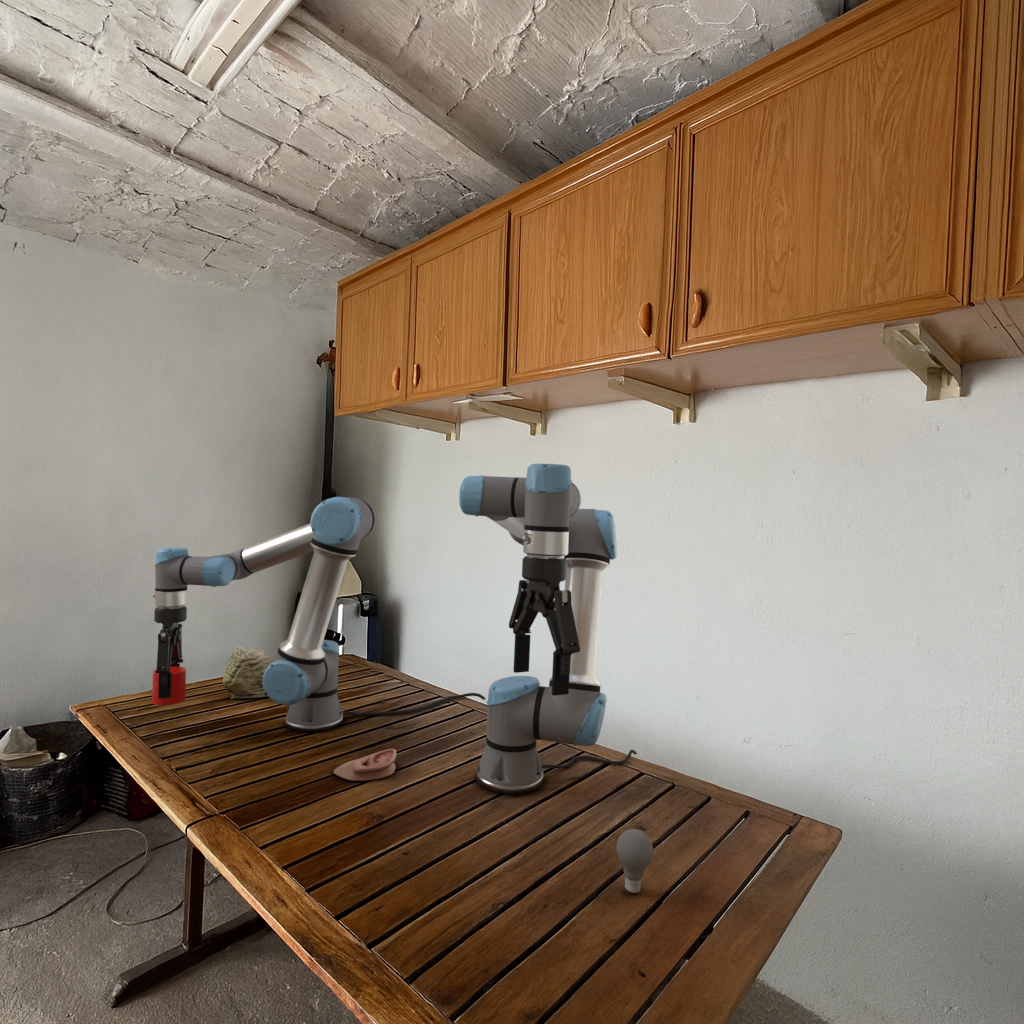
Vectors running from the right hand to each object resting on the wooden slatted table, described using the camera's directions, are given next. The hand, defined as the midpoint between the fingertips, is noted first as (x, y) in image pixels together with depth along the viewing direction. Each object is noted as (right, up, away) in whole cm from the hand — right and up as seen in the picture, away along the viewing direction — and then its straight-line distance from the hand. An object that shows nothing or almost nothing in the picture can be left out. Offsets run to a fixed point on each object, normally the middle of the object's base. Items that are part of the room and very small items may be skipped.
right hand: (539, 682), depth 106 cm
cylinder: (-95, -21, +61) cm, 115 cm away
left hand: (-95, -19, +61) cm, 114 cm away
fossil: (-85, -29, +92) cm, 128 cm away
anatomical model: (-39, -32, +41) cm, 64 cm away
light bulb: (+16, -35, -1) cm, 38 cm away
